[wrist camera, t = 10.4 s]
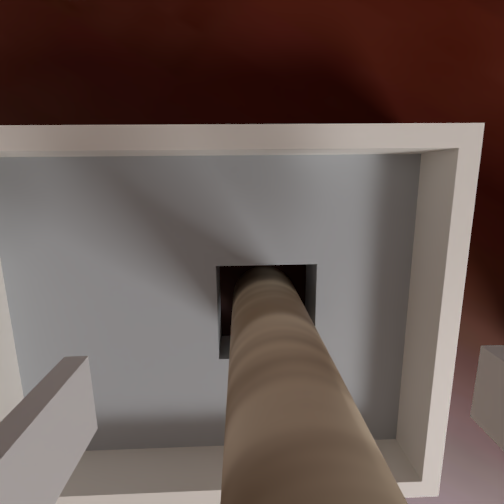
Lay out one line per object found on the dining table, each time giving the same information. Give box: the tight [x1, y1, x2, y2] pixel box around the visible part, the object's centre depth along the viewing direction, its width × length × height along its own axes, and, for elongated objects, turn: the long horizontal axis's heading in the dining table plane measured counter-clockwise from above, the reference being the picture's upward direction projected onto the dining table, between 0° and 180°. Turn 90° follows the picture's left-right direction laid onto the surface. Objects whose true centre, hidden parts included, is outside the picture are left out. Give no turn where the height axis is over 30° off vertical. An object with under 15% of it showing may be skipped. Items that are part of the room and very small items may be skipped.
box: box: [0, 123, 485, 504], centre depth 18 cm, size 19×24×6 cm
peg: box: [220, 266, 408, 504], centre depth 14 cm, size 4×4×16 cm
